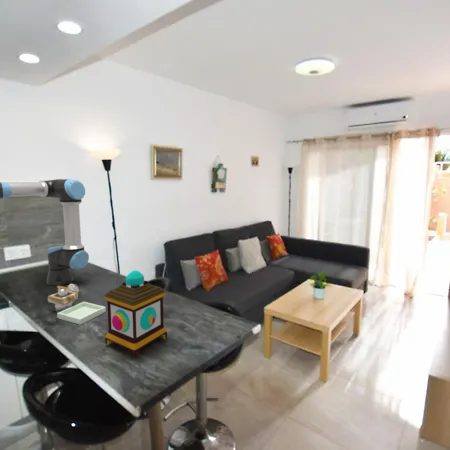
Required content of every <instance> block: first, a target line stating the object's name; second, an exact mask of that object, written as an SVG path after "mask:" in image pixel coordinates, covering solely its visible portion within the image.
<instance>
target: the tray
mask: <svg viewBox="0 0 450 450" xmlns="http://www.w3.org/2000/svg"><path fill="white" fill-rule="evenodd" d="M106 312H107V307H106V306H104V305H101V304H100V305H99V304H96V303H91V302H87V301H82V302H80V303H77V304H75V305H72V307H70V308H68V309H66V310H63V311H61V312H57V313H56V317H57V319H59V320H62V321H65V322H69V323H72V324H77V325H83V324H86V323H87V322H89V321H91V320H92V319H95V318H96V317H99V316H100V315H102V314H105V313H106Z"/></svg>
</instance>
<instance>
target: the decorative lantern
mask: <svg viewBox="0 0 450 450" xmlns="http://www.w3.org/2000/svg"><path fill="white" fill-rule="evenodd" d="M165 295H166V290H164V289H163V288H162V287H160V286H157V285H153V284H152V283H149V281H148V280H146V279H145V276H144V274H143V273H142V272H141V271H139V270H135V269H134V270H132V271H130V272H129V273H128V274H127V275H126V277H125V281H124V282H122V284H120V285H119V286H117V287H116V288H112V289H110V290H109V291H108V292H106V294H104V296H103V297H104V299H105V300H106V302H107V321H108V322H107V323H108V331H107V333H106V335H105V338H104V341H105V345H106V346H110V344H111V343H114V344H116V345H118V346H120V347H122V348H124V349H126V350H129V351H130V352H131V353H132V357H133V358H134V359H137V357H138V352H139V351H140V350H141V349H143V348H144V347H146V346H148V345H149V344H151V343H152V342H155V341H157V339H159V338H161V337H162V338H163V340H166V339H168V330H167V329H166V327H165V325H164V297H165Z"/></svg>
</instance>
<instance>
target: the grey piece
mask: <svg viewBox="0 0 450 450" xmlns="http://www.w3.org/2000/svg"><path fill="white" fill-rule="evenodd" d="M56 288H57V293H58V295H59V297H60V298H63V297H65V296H68V293H67V290H68V288H67V286H62V285H56ZM70 307H73V303H66V304H64V305H58V304H54V308H55V312H57V313H59V312H61V311H63V310H66V309H68V308H70Z"/></svg>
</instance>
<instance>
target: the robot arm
mask: <svg viewBox="0 0 450 450" xmlns="http://www.w3.org/2000/svg"><path fill="white" fill-rule="evenodd" d="M85 195H86V188H85V185H84V184H83V183H82V182H81V181H79V180H78V179H72V178H70V179H69V178H66V179H63V178H60V179H59V178H57V179H50V180H49V179H47V180H40V181H38V182H36V181H35V182H33V181H32V182H26V181H25V182H24V181H23V182H19V181H18V182H14V181H13V182H11V181H9V182H7V181H6V182H5V181H4V182H0V199H2V200H3V199H9V198H10V197H11V198H12V197H13V198H14V197H42V198H52V199H53V198H54V199H59V203H60V204H61V205H62V210H63V228H64V229H63V230H64V231H63V232H64V242H65V244H64V245H56V246H51V247H48V249H47V260H48V261H47V263H48V273H47V277H46V284H47V285H48V286H62V285H67V284H70V282H71V283H72V282H73V281H75V280H74V279H75V277H74V274H73V272H72V270H82V269H83V268H85V267H86V265H87V264H88V263H89V261H90V260H89V259H90V257H89V252H87V251H86V250H85V245H84V244H82V236H81V233H82V232H81V219H80V218H81V217H80V215H81V214H80V204H81V203H82V201H83V200H82V199H83V198H84V196H85ZM71 269H72V270H71Z"/></svg>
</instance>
